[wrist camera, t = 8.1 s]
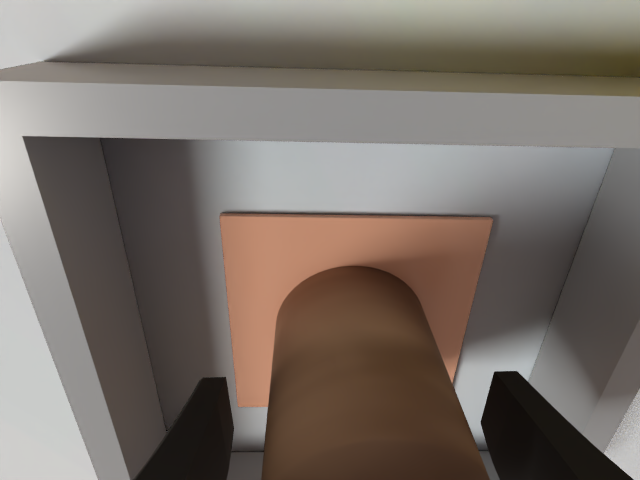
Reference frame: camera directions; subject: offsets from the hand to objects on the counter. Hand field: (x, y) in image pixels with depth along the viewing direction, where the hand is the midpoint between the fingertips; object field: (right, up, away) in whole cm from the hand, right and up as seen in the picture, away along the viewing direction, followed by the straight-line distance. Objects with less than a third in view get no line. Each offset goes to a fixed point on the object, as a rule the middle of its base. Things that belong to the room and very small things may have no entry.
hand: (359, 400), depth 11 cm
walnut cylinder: (0, +1, +3) cm, 3 cm away
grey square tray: (0, +2, +3) cm, 3 cm away
